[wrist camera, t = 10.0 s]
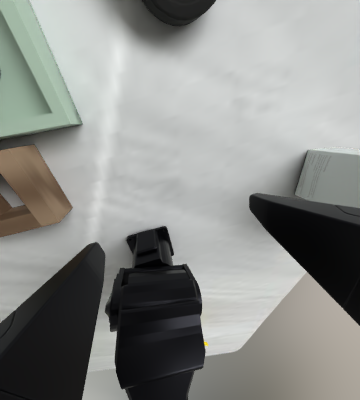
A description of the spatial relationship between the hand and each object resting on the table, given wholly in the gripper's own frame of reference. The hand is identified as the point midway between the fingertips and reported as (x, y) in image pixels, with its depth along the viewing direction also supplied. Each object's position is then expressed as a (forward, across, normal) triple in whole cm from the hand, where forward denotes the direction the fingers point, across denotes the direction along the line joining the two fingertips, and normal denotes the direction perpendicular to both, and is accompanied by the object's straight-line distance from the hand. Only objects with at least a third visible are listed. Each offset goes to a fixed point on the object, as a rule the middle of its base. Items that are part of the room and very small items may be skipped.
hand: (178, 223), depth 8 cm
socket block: (+13, +16, -2) cm, 21 cm away
